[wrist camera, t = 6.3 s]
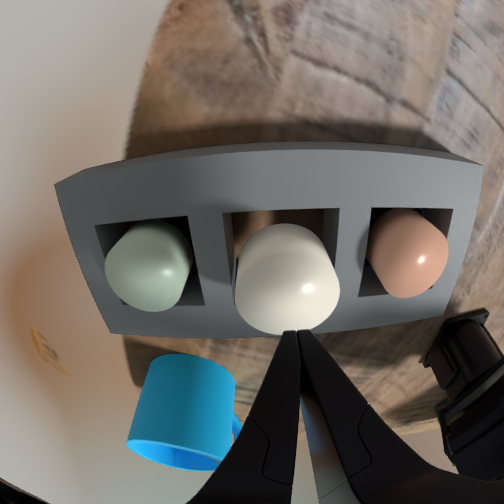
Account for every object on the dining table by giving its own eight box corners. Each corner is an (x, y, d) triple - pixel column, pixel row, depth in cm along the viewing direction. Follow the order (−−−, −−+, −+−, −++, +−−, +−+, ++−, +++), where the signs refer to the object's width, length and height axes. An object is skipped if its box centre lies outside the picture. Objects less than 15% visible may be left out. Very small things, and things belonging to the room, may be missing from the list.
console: (452, 153, 12) (483, 166, 9) (424, 289, 17) (442, 315, 14) (84, 169, 13) (54, 184, 10) (126, 304, 18) (110, 333, 15)
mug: (133, 368, 22) (108, 440, 15) (189, 341, 20) (168, 436, 13) (216, 419, 27) (210, 480, 20) (276, 402, 24) (278, 474, 17)
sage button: (185, 215, 13) (172, 237, 11) (198, 283, 15) (190, 312, 13) (116, 222, 13) (94, 243, 11) (135, 284, 15) (120, 310, 13)
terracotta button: (431, 207, 12) (456, 226, 10) (418, 269, 14) (436, 293, 12) (369, 207, 12) (389, 227, 10) (360, 274, 14) (374, 302, 12)
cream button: (329, 221, 11) (345, 249, 9) (323, 296, 13) (333, 331, 11) (234, 226, 11) (228, 255, 9) (242, 301, 13) (239, 336, 11)
